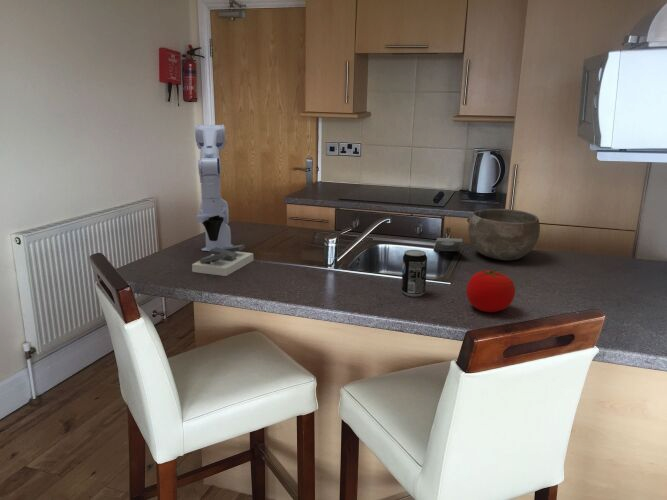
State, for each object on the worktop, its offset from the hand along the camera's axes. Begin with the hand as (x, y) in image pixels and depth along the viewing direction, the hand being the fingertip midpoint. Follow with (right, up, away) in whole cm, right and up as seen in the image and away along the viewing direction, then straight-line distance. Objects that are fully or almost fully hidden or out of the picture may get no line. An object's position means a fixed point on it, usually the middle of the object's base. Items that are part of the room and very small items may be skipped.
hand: (213, 240), depth 171 cm
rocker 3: (+4, -3, +12) cm, 13 cm away
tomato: (+78, -19, -27) cm, 85 cm away
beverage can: (+60, -15, -16) cm, 64 cm away
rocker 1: (0, -6, +2) cm, 6 cm away
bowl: (+96, -5, +21) cm, 98 cm away
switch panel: (+2, -8, +8) cm, 11 cm away
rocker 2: (+2, -5, +7) cm, 8 cm away
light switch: (+77, -5, +22) cm, 80 cm away
